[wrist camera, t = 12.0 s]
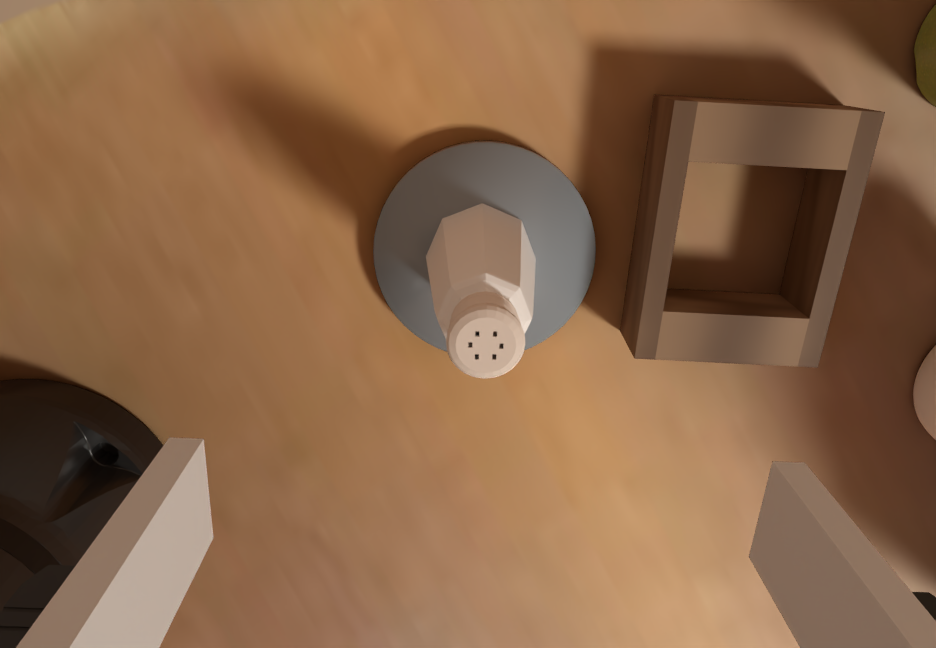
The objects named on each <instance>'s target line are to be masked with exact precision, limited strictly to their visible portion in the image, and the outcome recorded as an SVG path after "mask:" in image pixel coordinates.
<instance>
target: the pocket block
mask: <svg viewBox="0 0 936 648" xmlns="http://www.w3.org/2000/svg"><path fill="white" fill-rule="evenodd" d="M884 114H885V112H881V111H875V110H869V109H863V108H857V107H851V106H845V105H829V104H811V103H793V102H776V101H758V100H741V99H723V98H705V97H688V96H670V95H654V101H653V108H652V115H651V122H650V129H649V135H648V142H647V149H646V156H645V163H644V170H643V177H642V184H641V191H640V198H639V204H638V211H637V218H636V225H635V232H634V239H633V246H632V253H631V260H630V267H629V273H628V280H627V287H626V294H625V301H624V308H623V315H622V322H621V329H620V332H621V334H622V336H623V337H624V339H625V341H626V343H627V345H628V347H629V349H630V351H631V353H632V355H633V356H634V358H635V359H654V360H675V361H695V362H715V363H736V364H756V365H776V366H796V367H817V368H818V365H819V361H820V357H821V354H822V350H823V346H824V342H825V338H826V335H827V331H828V327H829V323H830V319H831V316H832V312H833V308H834V304H835V300H836V297H837V293H838V289H839V285H840V281H841V278H842V274H843V270H844V266H845V262H846V259H847V255H848V251H849V247H850V243H851V240H852V236H853V232H854V228H855V224H856V221H857V217H858V213H859V209H860V205H861V202H862V198H863V194H864V190H865V186H866V183H867V179H868V175H869V171H870V167H871V164H872V160H873V156H874V152H875V148H876V144H877V141H878V137H879V133H880V129H881V125H882V122H883V118H884ZM688 162H705V163H724V164H742V165H760V166H778V167H796V168H808V172H807V177H806V181H805V185H804V190H803V194H802V198H801V203H800V207H799V211H798V216H797V220H796V224H795V229H794V233H793V237H792V242H791V246H790V250H789V255H788V259H787V263H786V268H785V272H784V276H783V281H782V285H781V289H780V294H762V293H742V292H723V291H703V290H684V289H667V285H668V279H669V273H670V267H671V261H672V255H673V249H674V243H675V237H676V231H677V225H678V219H679V213H680V207H681V202H682V196H683V190H684V184H685V178H686V172H687V166H688Z"/></svg>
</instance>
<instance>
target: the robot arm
mask: <svg viewBox="0 0 936 648" xmlns="http://www.w3.org/2000/svg"><path fill="white" fill-rule="evenodd" d="M212 539H213V530H212V519H211V509H210V499H209V489H208V479H207V468H206V458H205V448H204V439H194V438H169V439H168V440H167V442H166V443H165V444H164V446H163V445H162V444H161V442H160V441H159V440H158V439H157V438H156V436H155V435H154V434H153V433H152V432H151V431H150V430H149V429H148V428H147V427H146V426H145V425H143V424H142V423H141V422H140V421H139V420H138V419H136V418H135V417H134V416H133V415H131V414H130V413H128V412H127V411H126V410H124V409H123V408H121V407H119V406H118V405H116V404H115V403H113V402H111V401H109V400H107V399H105V398H103V397H101V396H99V395H97V394H95V393H92V392H90V391H87V390H84V389H81V388H79V387H75V386H72V385H68V384H64V383H59V382H54V381H47V380H37V379H15V380H6V381H0V648H159V647H160V645H161V643H162V641H163V639H164V637H165V635H166V633H167V631H168V628H169V626H170V624H171V622H172V620H173V618H174V616H175V614H176V612H177V610H178V608H179V606H180V604H181V602H182V600H183V598H184V596H185V594H186V592H187V590H188V588H189V586H190V584H191V582H192V580H193V578H194V576H195V574H196V572H197V570H198V568H199V566H200V564H201V562H202V560H203V558H204V556H205V554H206V552H207V550H208V548H209V546H210V544H211V542H212ZM749 558H750V560H751V561H752V563H753V565H754V567H755V568H756V570H757V572H758V574H759V576H760V577H761V579H762V581H763V583H764V584H765V586H766V588H767V590H768V591H769V593H770V595H771V597H772V599H773V600H774V602H775V604H776V606H777V607H778V609H779V611H780V613H781V614H782V616H783V618H784V620H785V622H786V623H787V625H788V627H789V629H790V630H791V632H792V634H793V636H794V637H795V639H796V641H797V643H798V645H799V646H800V648H936V597H935V596H933V595H932V594H930V593H927V592H911V591H910V589H909V588H908V587H907V586H906V584H905V583H904V582H903V581H902V580H901V578H900V577H899V576H898V575H897V574H896V572H895V571H894V570H893V569H892V568H891V566H890V565H889V564H888V563H887V561H886V560H885V559H884V558H883V557H882V555H881V554H880V553H879V552H878V551H877V549H876V548H875V547H874V546H873V545H872V543H871V542H870V541H869V540H868V538H867V537H866V536H865V535H864V534H863V532H862V531H861V530H860V529H859V528H858V526H857V525H856V524H855V523H854V522H853V520H852V519H851V518H850V517H849V515H848V514H847V513H846V512H845V511H844V509H843V508H842V507H841V506H840V505H839V503H838V502H837V501H836V500H835V499H834V497H833V496H832V495H831V494H830V492H829V491H828V490H827V489H826V488H825V486H824V485H823V484H822V483H821V482H820V480H819V479H818V478H817V477H816V475H815V474H814V473H813V472H812V471H811V469H810V468H809V467H808V466H807V465H806V463H803V462H777V461H772V465H771V469H770V473H769V477H768V481H767V486H766V490H765V494H764V498H763V502H762V506H761V510H760V514H759V518H758V522H757V526H756V530H755V534H754V538H753V542H752V546H751V550H750V554H749Z"/></svg>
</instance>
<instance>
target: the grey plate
mask: <svg viewBox="0 0 936 648" xmlns="http://www.w3.org/2000/svg"><path fill="white" fill-rule="evenodd" d="M481 203H483V204H485V205H488V206H490V207H492V208H495V209H497V210H499V211H501V212H504V213H506V214H508V215H511V216H513V217H515V218H517V219H520V220H522V223H523V226H524V228H525V231H526V234H527V236H528V239H529V242H530V245H531V247H532V250H533V253H534V256H535V258H536V264H535V286H534V307H533V316H532V320H531V322H530V325H529V326H528V328H527V330H526V332H525V348H524V350H526V349H529V348H531V347H533V346H535V345H537V344H539V343H541V342H542V341H544V340H546V339H547V338H548V337H550V336H551V335H553V334H554V333H555V332H557V331H558V330H559V329H560V328H561V327H562V326H563V325H564V324H565V323H566V322H567V321H568V320H569V319H570V317H571V316H572V315H573V314H574V313H575V311H576V310H577V308H578V307H579V305H580V304H581V302H582V300H583V298H584V296H585V294H586V292H587V290H588V287H589V284H590V281H591V278H592V275H593V270H594V265H595V253H596V245H595V234H594V229H593V225H592V220H591V217H590V215H589V212H588V209H587V207H586V205H585V203H584V201H583V199H582V197H581V196H580V194H579V192H578V191H577V190H576V188H575V187H574V186H573V184H572V183H571V181H570V180H569V179H568V178H567V177H566V176H565V175H564V173H563V172H562V171H561V170H560V169H559V168H558V167H556V166H555V165H554V164H552V163H551V162H550V161H549V160H547V159H546V158H544V157H542V156H541V155H539V154H537V153H536V152H534V151H531V150H529V149H526V148H524V147H522V146H518V145H515V144H511V143H507V142H500V141H492V140H484V141H470V142H463V143H459V144H455V145H452V146H448V147H446V148H443V149H441V150H439V151H437V152H434V153H432V154H431V155H429V156H427V157H426V158H424V159H423V160H421V161H420V162H418V163H417V164H416V165H415V166H413V167H412V168H411V169H410V170H409V171H408V172H407V173H406V174H405V175H404V176H403V177H402V178H401V179H400V180H399V182H398V183H397V185H396V186H395V187H394V189H393V190H392V192H391V193H390V195H389V197H388V199H387V201H386V203H385V205H384V207H383V209H382V211H381V214H380V217H379V220H378V222H377V227H376V231H375V236H374V249H373V254H374V266H375V271H376V276H377V280H378V283H379V286H380V289H381V292H382V294H383V296H384V298H385V300H386V302H387V304H388V305H389V307H390V308H391V310H392V311H393V313H394V314H395V315H396V317H397V318H398V319H399V320H400V321H401V322H402V323H403V324H404V326H406V327H407V328H408V329H409V330H410V331H411V332H412V333H414V334H415V335H416V336H418V337H419V338H421V339H422V340H424V341H425V342H427V343H429V344H431V345H433V346H434V347H436V348H439V349H441V350H444V351H447V346H446V339H445V336H444V334H443V332H442V330H441V327H440V325H439V323H438V320H437V317H436V314H435V311H434V304H433V298H432V292H431V286H430V280H429V273H428V267H427V261H426V255H427V253H428V250H429V248H430V246H431V243H432V241H433V239H434V236H435V234H436V232H437V229H438V227H439V225H440V223H441V220H442V218H445V217H448V216H450V215H453V214H455V213H458V212H461V211H463V210H466V209H468V208H471V207H474V206H476V205H479V204H481Z"/></svg>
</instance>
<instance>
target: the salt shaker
mask: <svg viewBox="0 0 936 648" xmlns="http://www.w3.org/2000/svg"><path fill="white" fill-rule="evenodd" d="M426 261H427V267H428V273H429V280H430V286H431V292H432V298H433V304H434V311H435V314H436V317H437V320H438V323H439V325H440V327H441V330H442V332H443V334H444V336H445V339H446V346H447V352H448V354H449V357H450V359H451V361H452V362H453V363H454V364H455V366H456V367H457V368H458V369H460V370H461V371H462V372H464V373H465V374H468V375H470V376H473V377H477V378H484V379H485V378H495V377H498V376H500V375H503V374H505V373H507V372H508V371H510V370H511V369H513V368H514V367H515V365H516V364H517V363H518V362H519V361H520V359H521V357H522V355H523V353H524V348H525V332H526V330H527V328H528V326H529V325H530V322H531V320H532V316H533V307H534V286H535V264H536V258H535V256H534V253H533V250H532V247H531V245H530V242H529V239H528V236H527V234H526V231H525V228H524V226H523V223H522V220H520V219H517V218H515V217H513V216H511V215H508V214H506V213H504V212H501V211H499V210H497V209H495V208H492V207H490V206H488V205H485V204H483V203H481V204H479V205H476V206H474V207H471V208H468V209H466V210H463V211H461V212H458V213H455V214H453V215H450V216H448V217H445V218H442V220H441V223H440V225H439V227H438V229H437V232H436V234H435V236H434V239H433V241H432V243H431V246H430V248H429V250H428V253H427V255H426Z"/></svg>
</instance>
